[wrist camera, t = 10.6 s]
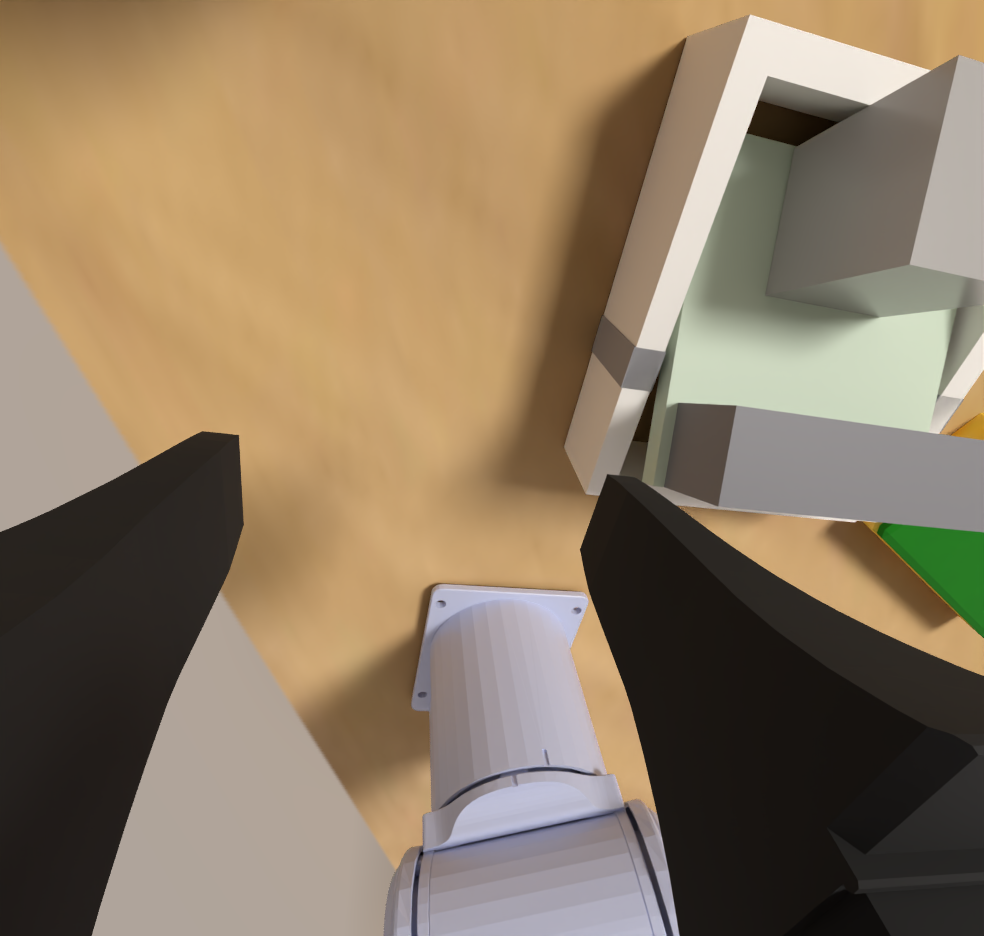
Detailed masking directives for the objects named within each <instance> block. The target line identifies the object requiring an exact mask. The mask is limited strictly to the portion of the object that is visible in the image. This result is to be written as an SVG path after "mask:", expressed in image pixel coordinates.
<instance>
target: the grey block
mask: <svg viewBox="0 0 984 936" xmlns="http://www.w3.org/2000/svg"><path fill="white" fill-rule="evenodd" d="M765 296H769V297H775V298H780V299H785V300H790V301H796V302H801V303H806V304H811V305H817V306H822V307H827V308H832V309H838V310H843V311H848V312H853V313H859V314H864V315H869V316H874V317H888V316H896V315H904V314H913V313H921V312H929V311H938V310H946V309H954V308H963V307H971V306H979V305H984V63H982V62H979V61H976V60H973V59H970V58H967V57H964V56H961V55H958V56H956V57H954V58H953V59H951V60H949V61H947V62H946V63H944V64H942V65H940V66H939V67H937V68H935V69H933V70H931V71H930V72H928V73H926V74H924V75H923V76H921V77H919V78H917V79H916V80H914V81H912V82H910V83H908V84H907V85H905V86H903V87H901V88H900V89H898V90H896V91H894V92H893V93H891V94H889V95H887V96H885V97H884V98H882V99H880V100H878V101H877V102H875V103H873V104H871V105H870V106H868V107H866V108H864V109H862V110H861V111H859V112H857V113H855V114H854V115H852V116H850V117H848V118H847V119H845V120H843V121H841V122H839V123H838V124H836V125H834V126H832V127H831V128H829V129H827V130H825V131H824V132H822V133H820V134H818V135H816V136H815V137H813V138H811V139H809V140H808V141H806V142H804V143H802V144H801V145H799V146H797V147H795V148H794V152H793V157H792V162H791V167H790V172H789V177H788V182H787V188H786V193H785V198H784V203H783V208H782V213H781V218H780V223H779V228H778V233H777V238H776V243H775V248H774V253H773V258H772V263H771V268H770V273H769V278H768V283H767V288H766V293H765Z"/></svg>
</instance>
